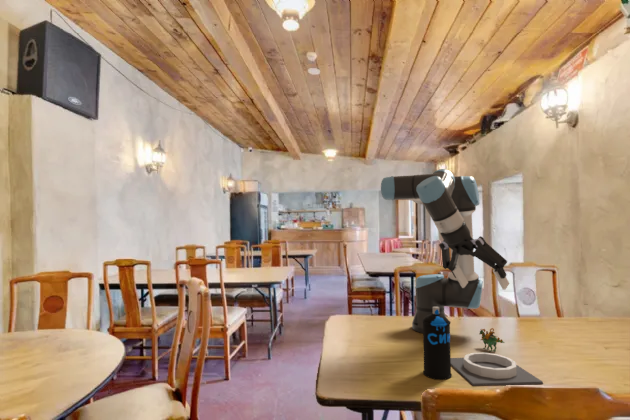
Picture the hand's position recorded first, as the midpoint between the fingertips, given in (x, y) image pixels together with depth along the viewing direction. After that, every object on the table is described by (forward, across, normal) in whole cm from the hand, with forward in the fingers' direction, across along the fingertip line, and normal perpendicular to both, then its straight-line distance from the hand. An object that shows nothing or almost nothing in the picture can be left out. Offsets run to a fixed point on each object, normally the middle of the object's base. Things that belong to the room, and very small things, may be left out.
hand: (484, 285), depth 111 cm
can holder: (+24, -5, -10) cm, 27 cm away
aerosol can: (+16, -12, -23) cm, 30 cm away
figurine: (+33, -16, +4) cm, 37 cm away
